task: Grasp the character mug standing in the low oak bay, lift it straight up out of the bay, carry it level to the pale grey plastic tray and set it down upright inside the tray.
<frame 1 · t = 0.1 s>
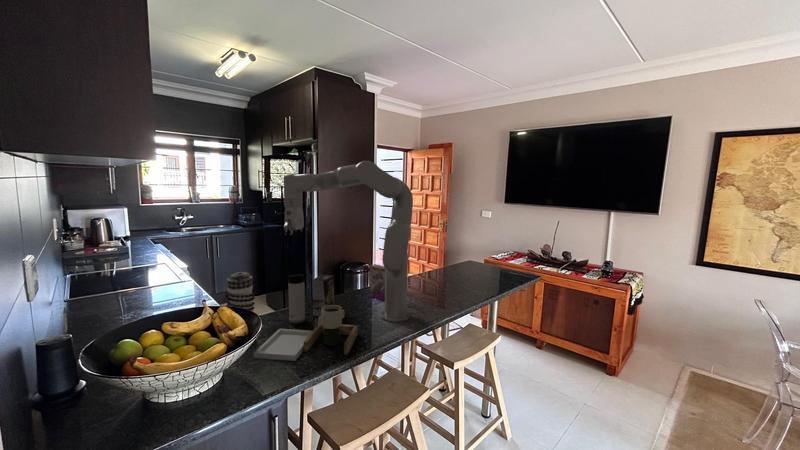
hand: (294, 242, 142), 31 cm above the breakfast bar, tool pointing down, fingers open, 9 cm apart
decorative candle: (242, 342, 117), on the breakfast bar
tray: (286, 345, 114), on the breakfast bar
character mug: (331, 343, 117), resting in bay
bay: (331, 343, 117), on the breakfast bar
candy bar box: (380, 298, 164), on the breakfast bar
coffee box: (323, 312, 145), on the breakfast bar
travel mug: (297, 321, 136), on the breakfast bar
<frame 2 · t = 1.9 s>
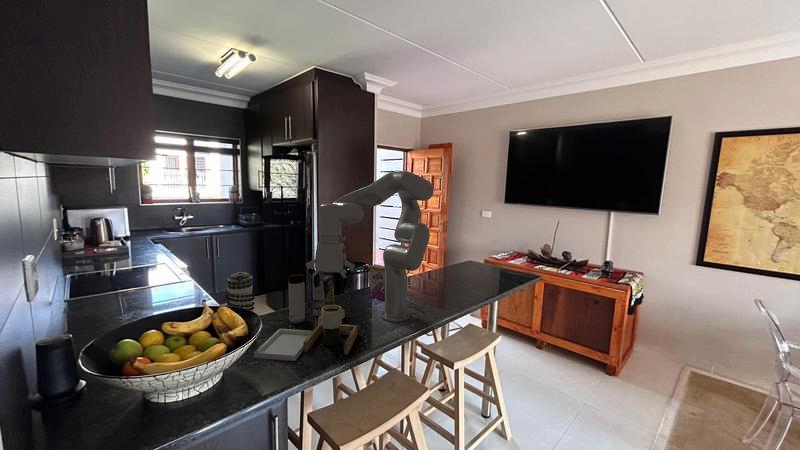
hand: (330, 287, 115), 20 cm above the breakfast bar, tool pointing down, fingers open, 9 cm apart
nothing on the breakfast bar moved.
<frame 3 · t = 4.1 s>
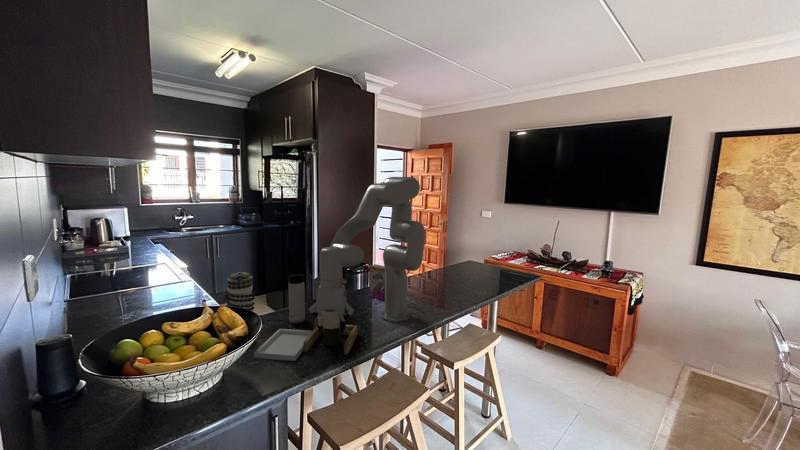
hand: (331, 330, 116), 5 cm above the breakfast bar, tool pointing down, fingers closed on character mug, 7 cm apart
character mug: (331, 343, 117), resting in bay, touching gripper
everything else where it was.
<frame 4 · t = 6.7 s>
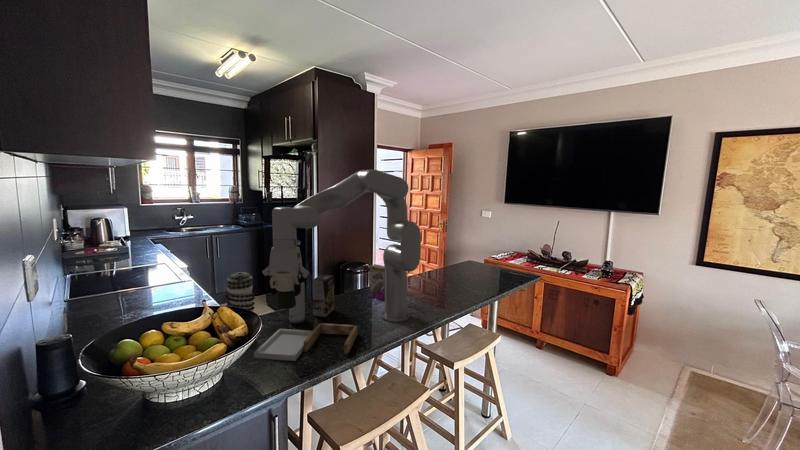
hand: (286, 294, 112), 19 cm above the breakfast bar, tool pointing down, fingers closed on character mug, 7 cm apart
character mug: (286, 308, 113), point 14 cm above the breakfast bar, touching gripper
everything else where it was.
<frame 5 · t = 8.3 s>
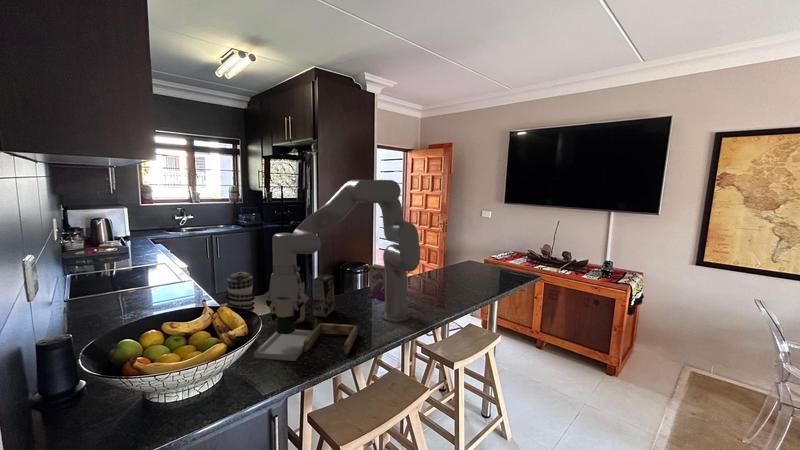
hand: (285, 318, 113), 10 cm above the breakfast bar, tool pointing down, fingers closed on character mug, 7 cm apart
character mug: (286, 332, 114), point 5 cm above the breakfast bar, touching gripper
everything else where it was.
when the fingers open (6 cm above the breakfast bar, at t = 9.6 s): character mug stays where it is, resting on tray.
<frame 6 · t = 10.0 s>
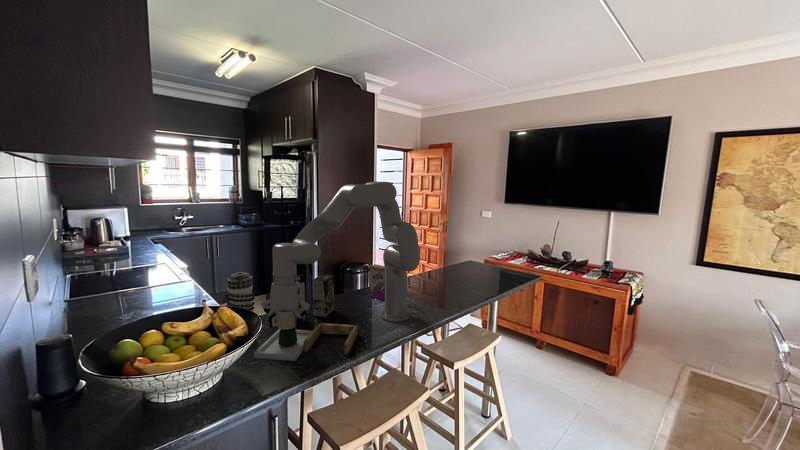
hand: (286, 327, 113), 7 cm above the breakfast bar, tool pointing down, fingers open, 9 cm apart
character mug: (288, 344, 114), resting on tray
everything else where it was.
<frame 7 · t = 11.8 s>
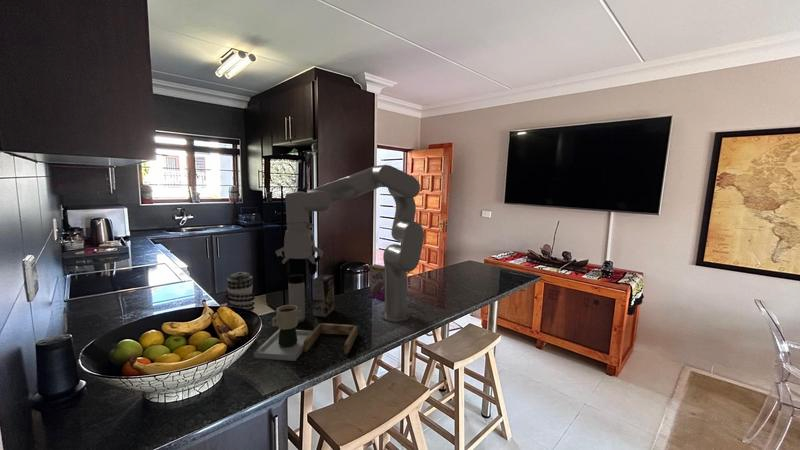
hand: (300, 273, 117), 24 cm above the breakfast bar, tool pointing down, fingers open, 9 cm apart
nothing on the breakfast bar moved.
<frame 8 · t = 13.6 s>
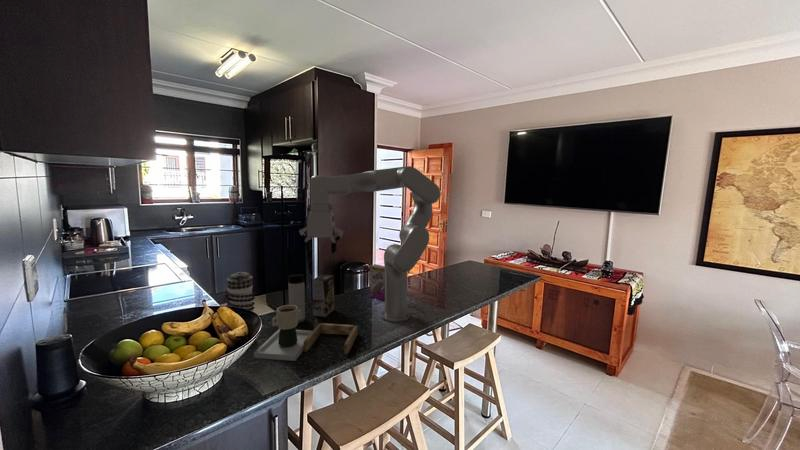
hand: (321, 252, 127), 30 cm above the breakfast bar, tool pointing down, fingers open, 9 cm apart
nothing on the breakfast bar moved.
at the end: character mug inside the target area on the tray (0.4 cm from its centre), point 0.4 cm above the tray's base; character mug tilted 0°; the gripper is holding nothing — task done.
